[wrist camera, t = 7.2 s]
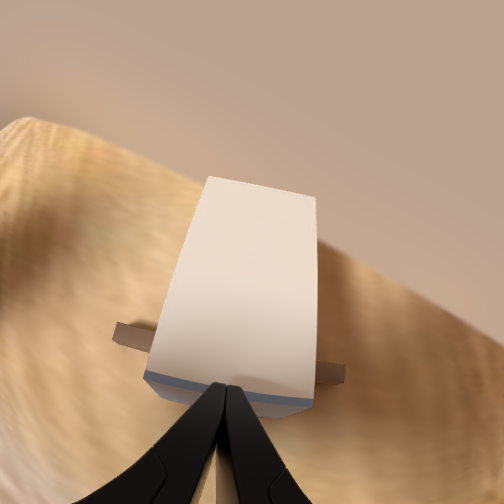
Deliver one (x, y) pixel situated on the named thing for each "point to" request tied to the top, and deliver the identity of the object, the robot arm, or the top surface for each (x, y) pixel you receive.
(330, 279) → the top surface
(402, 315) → the top surface
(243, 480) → the robot arm
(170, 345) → the plain white block
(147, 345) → the strip
